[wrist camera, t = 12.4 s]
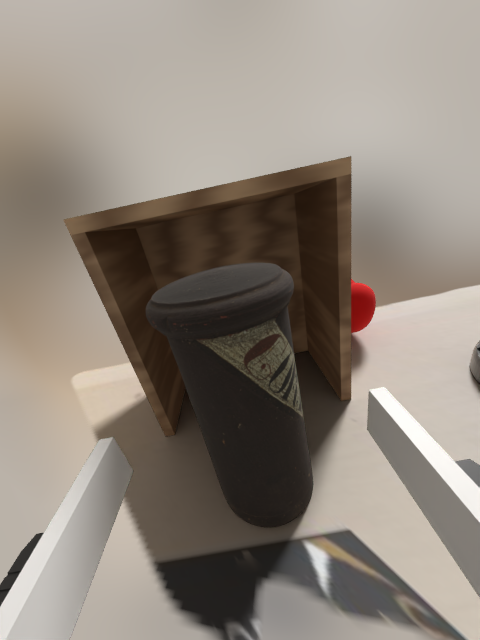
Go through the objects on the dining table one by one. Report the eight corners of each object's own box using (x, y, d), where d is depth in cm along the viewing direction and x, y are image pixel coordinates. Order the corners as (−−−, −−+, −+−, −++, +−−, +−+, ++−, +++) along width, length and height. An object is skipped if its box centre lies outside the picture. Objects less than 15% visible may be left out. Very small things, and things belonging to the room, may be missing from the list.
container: (320, 543, 17) (291, 281, 9) (207, 526, 19) (102, 307, 11) (311, 438, 24) (290, 246, 16) (230, 435, 27) (178, 266, 19)
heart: (383, 345, 36) (387, 285, 32) (349, 352, 36) (348, 293, 32) (347, 317, 47) (347, 269, 43) (321, 322, 47) (318, 275, 43)
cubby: (312, 345, 40) (299, 182, 30) (351, 399, 28) (351, 156, 18) (182, 372, 40) (126, 220, 30) (165, 436, 28) (63, 219, 18)
